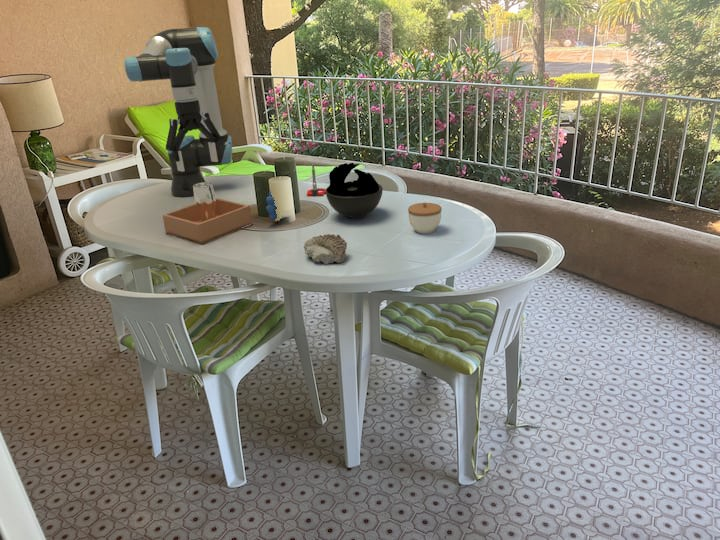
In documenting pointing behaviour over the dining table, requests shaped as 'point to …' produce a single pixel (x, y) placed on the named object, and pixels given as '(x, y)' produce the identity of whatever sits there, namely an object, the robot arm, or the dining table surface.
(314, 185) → the tow hook
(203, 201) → the beer glass
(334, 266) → the dining table surface
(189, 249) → the dining table surface
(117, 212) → the dining table surface
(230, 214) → the open box
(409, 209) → the lidded jar
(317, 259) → the seashell
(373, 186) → the coal bowl
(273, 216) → the grapes
